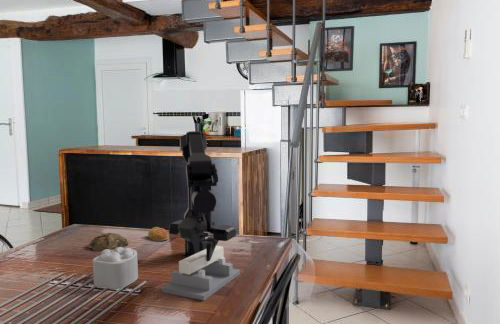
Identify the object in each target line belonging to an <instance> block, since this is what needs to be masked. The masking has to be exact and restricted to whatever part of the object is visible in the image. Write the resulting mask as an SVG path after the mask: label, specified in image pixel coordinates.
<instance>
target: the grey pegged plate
mask: <svg viewBox="0 0 500 324" xmlns="http://www.w3.org/2000/svg"><path fill="white" fill-rule="evenodd" d="M233 264H234V263H231V262H226V257H225V256H224V257H221V258H219V260H217V261H215V262H213V263H211V264H209V265H207V266H205V267H203V268H201V269H199V270H197V271H195V272H193V273H191V274H190V275H189V274H184V273H180V272H179V267H178V270H177V269H176V270H173V271H172V272H170V278H171V281H170V282H169V283H167V284H166V285H164V286H162V287H161V292H162V293H165V294H171V295H176V296H180V297H184V298H189V299H195V300H200V301H204V302H205V300H207V299H208V298H210V296H211V297H212V295H213V294H215V293H216V292H217V291H219V290H220V289H222V288H223V287H225V286H226V285H227V284H228V283H230V282H231V281H232V280H233V279H235V278H236V277H238V276H240V275H241V270H240V269H236V268H234V266H233Z"/></svg>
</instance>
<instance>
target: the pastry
mask: <svg viewBox="0 0 500 324" xmlns="http://www.w3.org/2000/svg"><path fill="white" fill-rule="evenodd" d="M147 235H148V238H149V239H150V240H153V241H156V242H163V241H167V240H168V239H169V238H170V236H169V232H168V231H167V230H166V229H165V228H163V227H159V226H154V227H152V228H150V230H149V231H148V232H147Z"/></svg>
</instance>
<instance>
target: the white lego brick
mask: <svg viewBox="0 0 500 324" xmlns="http://www.w3.org/2000/svg"><path fill="white" fill-rule="evenodd" d="M100 252H101V253H100V254H99V255H97V256H96V257H94V258H92V275H93V286H94V287H95V286H96V287H95V288H103V287H104V288H105V289H109V290H119V289H122V288H125V287H127V286H129V285H131V284H132V283H134V282H136V281H137V279H139V267H138V266H139V265H138V252H137V250H135V249H133V248H131V247H118V248H116V249H115V250H109V249H105V250H103V251H100Z"/></svg>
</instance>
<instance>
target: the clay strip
mask: <svg viewBox="0 0 500 324" xmlns="http://www.w3.org/2000/svg"><path fill="white" fill-rule="evenodd" d="M224 250H225V249H224V246H220V245H216V247H215V250H214V252H213V254H212V257H211V259H210V261H207V257H206V249H205V250H203V251H200V252H198V253H196V254H194V255H192V256H187V257H186V258H183V259H181V260H179V261H178V268H179V269H178V271H179V272H180V273H184V274H189V275H190V274H191V273H193V272H195V271H197V270H199V269H201V268H203V267H205V266H207V265H209V264H211V263H213V262H215V261H219V258H221V257H225V256H224V255H225V254H224Z"/></svg>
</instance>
